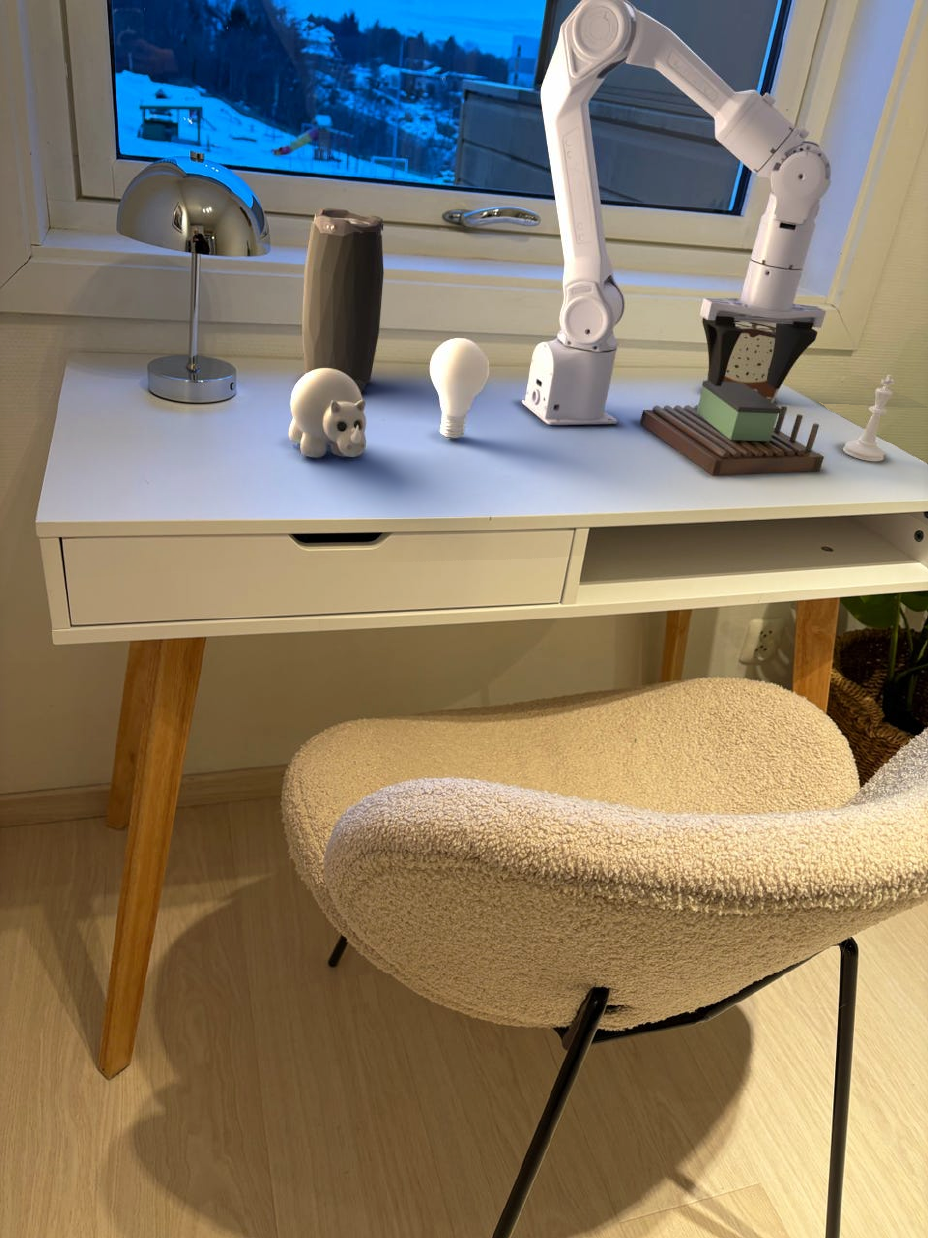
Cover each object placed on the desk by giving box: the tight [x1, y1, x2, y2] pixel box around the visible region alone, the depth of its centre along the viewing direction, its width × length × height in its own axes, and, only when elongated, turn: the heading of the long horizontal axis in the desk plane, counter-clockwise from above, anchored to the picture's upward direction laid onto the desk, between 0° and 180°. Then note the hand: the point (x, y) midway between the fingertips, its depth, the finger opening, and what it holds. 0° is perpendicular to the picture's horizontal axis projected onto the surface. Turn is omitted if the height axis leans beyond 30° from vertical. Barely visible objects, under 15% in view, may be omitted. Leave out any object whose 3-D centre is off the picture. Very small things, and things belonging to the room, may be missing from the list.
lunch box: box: [697, 380, 781, 441], centre depth 119 cm, size 5×9×4 cm, turn 14°
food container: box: [706, 320, 780, 404], centre depth 140 cm, size 12×6×10 cm, turn 84°
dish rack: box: [639, 389, 825, 476], centre depth 120 cm, size 15×16×5 cm
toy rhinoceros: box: [288, 368, 367, 458], centre depth 100 cm, size 7×12×8 cm, turn 25°
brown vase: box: [301, 207, 385, 393], centre depth 118 cm, size 9×9×20 cm
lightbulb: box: [429, 337, 490, 440], centre depth 109 cm, size 6×6×11 cm
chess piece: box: [842, 374, 895, 462], centre depth 123 cm, size 5×5×10 cm
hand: (743, 384), depth 117 cm, fingers open, 7 cm apart
